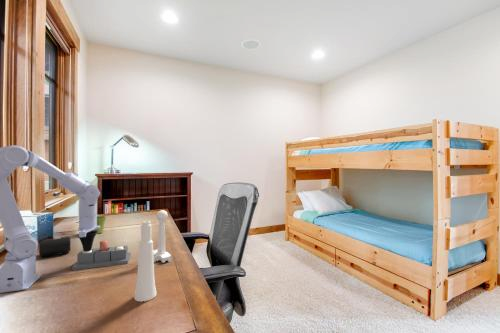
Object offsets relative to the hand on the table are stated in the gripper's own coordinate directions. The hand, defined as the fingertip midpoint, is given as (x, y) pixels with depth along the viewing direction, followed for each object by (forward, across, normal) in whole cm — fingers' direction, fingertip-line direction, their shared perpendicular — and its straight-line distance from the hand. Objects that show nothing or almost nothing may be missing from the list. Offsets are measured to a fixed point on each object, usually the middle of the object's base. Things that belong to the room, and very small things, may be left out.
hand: (87, 250), depth 92 cm
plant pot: (+5, +48, +8) cm, 49 cm away
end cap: (+5, +16, +16) cm, 23 cm away
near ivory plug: (+5, 0, 0) cm, 5 cm away
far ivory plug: (+5, 0, -11) cm, 12 cm away
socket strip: (+5, 0, -6) cm, 8 cm away
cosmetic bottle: (+5, -32, -22) cm, 39 cm away
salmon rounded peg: (+2, 0, -5) cm, 6 cm away
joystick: (+5, -4, -26) cm, 26 cm away
